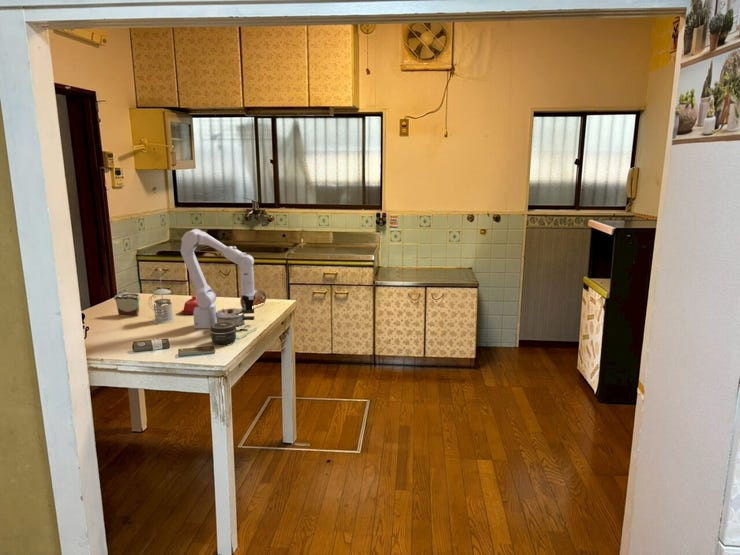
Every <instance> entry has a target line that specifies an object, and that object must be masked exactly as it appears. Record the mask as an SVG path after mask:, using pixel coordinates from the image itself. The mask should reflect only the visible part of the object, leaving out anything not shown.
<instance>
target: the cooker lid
mask: <svg viewBox="0 0 740 555" xmlns="http://www.w3.org/2000/svg"><path fill="white" fill-rule="evenodd" d="M215 314H216V317H218V318H222V319H231V318H238V317H241V316H243V315H244V316H245V315H246V314H247V315H248V314H249V315H250V314H255V308H254V309H244V308H235V307H233V308H232V307H231V308H221V309H219V310H216V313H215Z"/></svg>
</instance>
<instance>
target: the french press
mask: <svg viewBox="0 0 740 555" xmlns="http://www.w3.org/2000/svg"><path fill="white" fill-rule="evenodd" d="M162 271H163V270H162V268H157V272H162ZM161 276H162V275H159V279H160V282H162V277H161ZM171 293H172V291H171V290H169V289H167V288H163V286H160V288H159V289H157V290H154V291H153V292H152V295H151V296H150V297H149V298H148V300H153V299H152V298H154V299H155V298H156V297H157V296H161V298H160V299H155V300H154V304H153V303H152V301H150V303H148V305H149V308H150V309H152V310H153V312H154V319H153V321H152V322H154V324H156V323H157V325H162V324H163V325H165V324H171V323H173V322H175V321H176V318H175V317H173V316H174V315H173V305H172V304H173V303H172V302H171V299H170V298H163V296H166V295H170V294H171Z"/></svg>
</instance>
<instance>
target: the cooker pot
mask: <svg viewBox="0 0 740 555" xmlns="http://www.w3.org/2000/svg"><path fill="white" fill-rule="evenodd" d="M254 320H255V316H254V315H253V316H252V315H245V314H244V315H243V316H241V317H238V318H231V319H222V318H218V317H216V321H217V322H223V321H229V322H233V323H235V327H239V326H242V325H245V321H254Z"/></svg>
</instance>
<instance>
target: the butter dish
mask: <svg viewBox="0 0 740 555" xmlns="http://www.w3.org/2000/svg"><path fill="white" fill-rule="evenodd" d="M195 307H199V306H198V304H197V297H196V295H192V296H191V298H190V299H187V301H185V302H184V304H183V309H182V310H181V311H180V312H179V313H180V314H184V315H193V312H194V308H195Z"/></svg>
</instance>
